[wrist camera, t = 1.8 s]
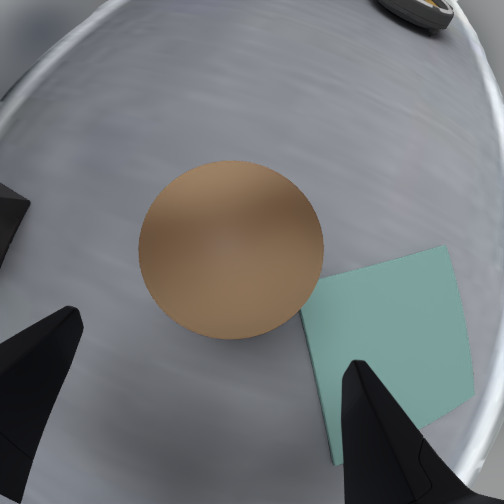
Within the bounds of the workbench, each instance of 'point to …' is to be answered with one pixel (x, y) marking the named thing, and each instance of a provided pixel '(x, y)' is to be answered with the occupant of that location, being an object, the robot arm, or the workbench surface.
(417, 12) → the motorcycle dashboard
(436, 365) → the rubber mat
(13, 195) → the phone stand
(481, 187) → the workbench surface
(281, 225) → the walnut stool
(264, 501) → the workbench surface
